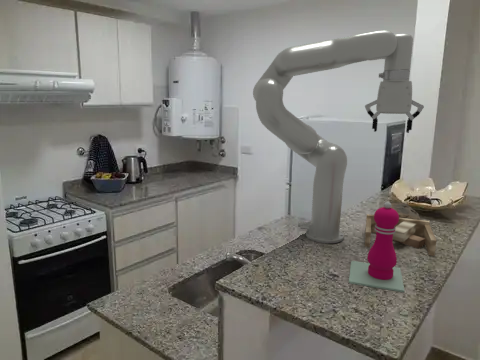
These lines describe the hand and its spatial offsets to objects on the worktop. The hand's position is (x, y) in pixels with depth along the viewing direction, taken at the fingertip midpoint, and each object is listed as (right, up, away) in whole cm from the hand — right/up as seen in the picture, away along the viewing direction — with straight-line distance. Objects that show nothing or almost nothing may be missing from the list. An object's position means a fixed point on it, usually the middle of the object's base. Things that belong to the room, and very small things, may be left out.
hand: (391, 131), depth 119 cm
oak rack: (+3, -36, +3) cm, 36 cm away
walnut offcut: (+6, -36, +3) cm, 37 cm away
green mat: (-13, -41, -21) cm, 48 cm away
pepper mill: (-12, -41, -21) cm, 47 cm away
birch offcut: (+5, -34, +2) cm, 34 cm away
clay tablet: (+16, -31, +30) cm, 45 cm away
